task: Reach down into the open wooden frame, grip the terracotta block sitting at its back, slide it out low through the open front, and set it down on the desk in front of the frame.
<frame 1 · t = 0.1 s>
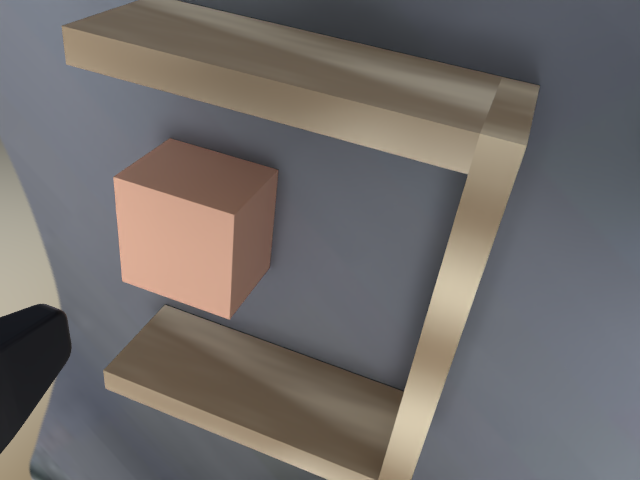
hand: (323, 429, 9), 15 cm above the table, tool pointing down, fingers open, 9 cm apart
open wooden frame: (220, 205, 27), on the table
terracotta block: (222, 203, 27), on the table
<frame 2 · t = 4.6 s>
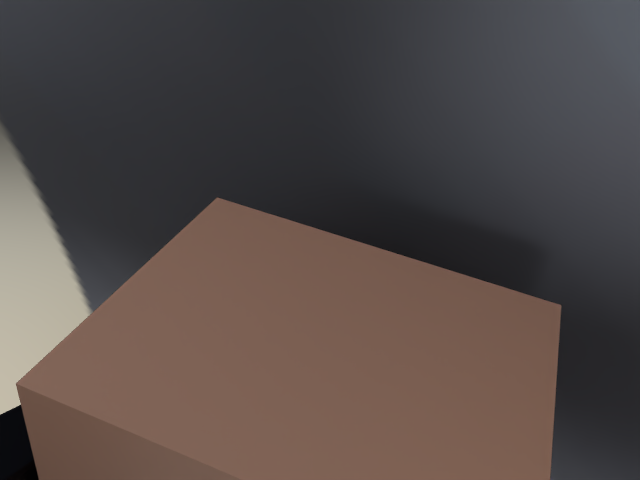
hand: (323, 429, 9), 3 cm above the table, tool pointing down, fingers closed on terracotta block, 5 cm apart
terracotta block: (350, 372, 10), point 2 cm above the table, touching gripper
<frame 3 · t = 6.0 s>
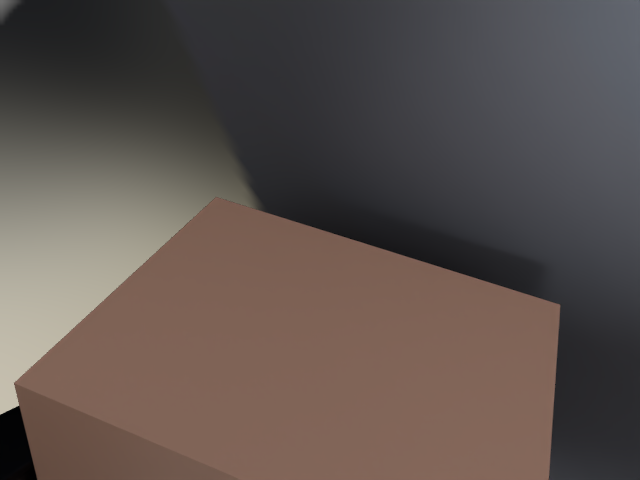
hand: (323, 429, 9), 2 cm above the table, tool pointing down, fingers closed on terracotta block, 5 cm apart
terracotta block: (350, 371, 10), point 1 cm above the table, touching gripper
when the fingers open (2 cm above the table, at t = 6.8 s): terracotta block stays where it is, on the table.
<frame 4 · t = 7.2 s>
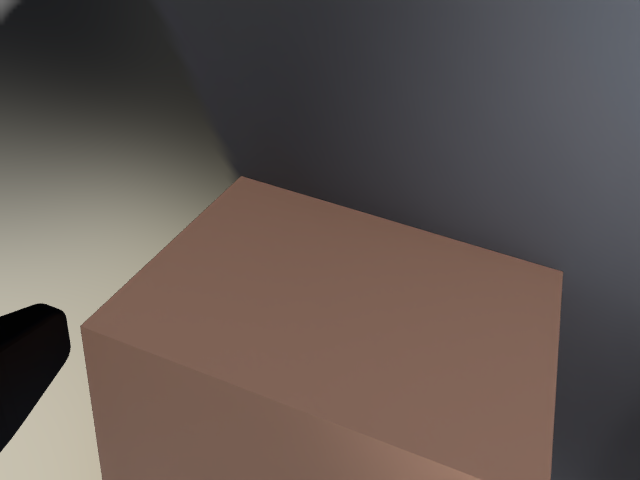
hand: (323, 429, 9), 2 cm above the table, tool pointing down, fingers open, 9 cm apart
terracotta block: (367, 336, 11), on the table
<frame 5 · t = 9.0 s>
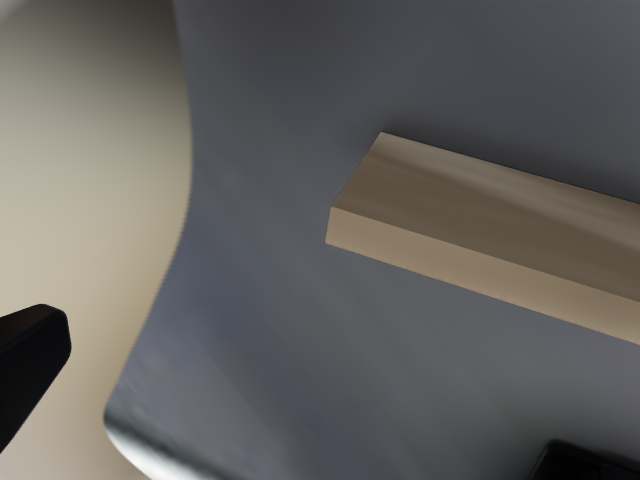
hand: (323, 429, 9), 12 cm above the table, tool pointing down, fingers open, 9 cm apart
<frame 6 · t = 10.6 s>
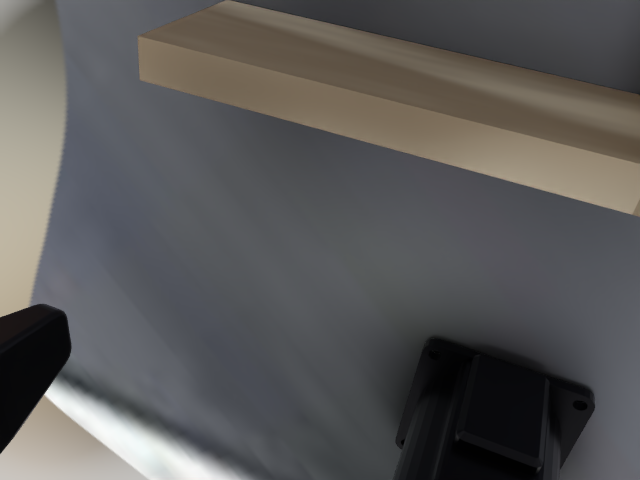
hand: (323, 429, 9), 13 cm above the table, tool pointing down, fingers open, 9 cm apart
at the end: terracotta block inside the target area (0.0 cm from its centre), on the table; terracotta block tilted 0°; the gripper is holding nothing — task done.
